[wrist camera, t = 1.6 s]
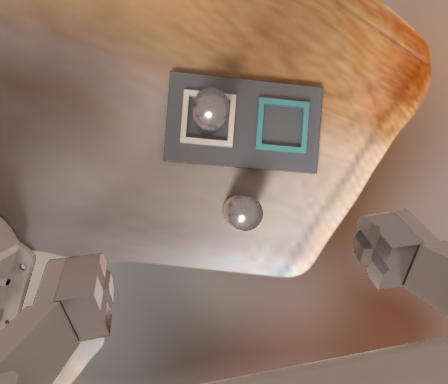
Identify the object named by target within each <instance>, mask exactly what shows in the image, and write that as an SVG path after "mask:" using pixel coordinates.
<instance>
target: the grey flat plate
mask: <svg viewBox="0 0 448 384" xmlns="http://www.w3.org/2000/svg"><path fill="white" fill-rule="evenodd" d="M206 88H216V89H219V90H221V91H222V92H223V93H224V94H225V95H226V96H227V98H228V100H229V104H230V109H229V113H228V115H227V117H226V119H225V121H224V123H223V125H222V127H221V129H220V130H219V131H218V132H217V133H215V134H212V135H205V134H202V133H200V132H199V131H197V130H196V128H195V127H194V124H193V103H194V99H195V97H196V95H197V94H198V93H199V92H200V91H201V90H203V89H206ZM322 93H323V88H321V87H311V86H302V85H293V84H284V83H275V82H266V81H256V80H247V79H238V78H229V77H220V76H210V75H201V74H192V73H183V72H174V71H170V80H169V93H168V106H167V119H166V133H165V146H164V159H163V161H167V162H179V163H191V164H203V165H215V166H227V167H239V168H251V169H263V170H275V171H287V172H299V173H311V174H314V173H317V162H318V149H319V135H320V121H321V107H322Z"/></svg>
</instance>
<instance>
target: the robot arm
mask: <svg viewBox="0 0 448 384" xmlns="http://www.w3.org/2000/svg"><path fill="white" fill-rule="evenodd" d="M357 226H358V228H359V229H360V230H359V232H358V233H357V234H356V235H355V236H354V241H353V248H354V253H355V255H356V257H357V259H358V261H359V262H360V263H361V264H363V265H364V266H366V267H368V271H367V274H368V276H369V277H370V278H371V280H372V281H373V283H374V284H375V286H376V287H377V289H378V290H379V289H384V288H385V289H386V288H393V287H400V286H403V288H405V289H406V290H408V291H409V292H411V293H412V294H414V295H415V296H416V297H418V298H420V299H421V300H422V301H424V302H425V303H427V304H428V305H430V306H431V307H433V308H434V309H436V310H437V311H439V312H440V313H442V314H443V315H444V316H446V317H447V318H448V242H446V241H439V240H438V239H437V238H436V237H435V236H434V235H433V234H432V233H431V232H430V231H429V230H428V229H427V228H426V227H425V226H424V225H423V224H422V223H421V222H420V221H419V220H418V219H417V218H416V217H415V216H414V215H413V214H412V213H411V212H410V211H408V210H406V209H403V210H396V211H390V212H384V213H378V214H371V215H364V216H361V217H360V218H359V220H358V224H357ZM35 261H36V257H35V254H34V252H33V251H32V250H31V249H29V248H28V247H27V246H25V245H24V244H23V243H21V242H20V241H19V240H18V239H17V237H16V235H15V234H14V232H13V230H12V229H11V227H10V226H9V225H8V223H7V222H6V221H5V220H4V219H3V218H1V217H0V384H52V382H53V381H54V380H55V378H56V377H57V375H58V374H59V372H60V371H61V370H62V368H63V367H64V365H65V364H66V362H67V361H68V359H69V358H70V357H71V355H72V354H73V352H74V351H75V349H76V348H77V347H78V345H79V344H80V343H79V342H81V341H86V340H91V339H96V338H101V337H106V336H110V328H111V320H112V314H111V311H110V309H109V307H110V306H111V305H112V304H113V301H114V284H113V278H112V275H111V272H109V271H107V270H106V268H107V260H106V257H105V254H103V253H99V254H90V255H82V256H74V257H68V258H60V259H52V260H50V261H49V262H48V263H47V264H46V267H45V270H44V273H43V276H42V279H41V282H40V285H39V288H38V291H37V294H36V297H35V300H34V303H33V305H32V306H28V307H26V308H25V309H24V310H23V311H22V312H21V310H22V306H23V303H24V299H25V295H26V292H27V289H28V285H29V282H30V278H31V275H32V271H33V268H34V264H35ZM22 264H23V265H25V269H22V268H21V265H22ZM8 320H9V321H8ZM203 384H448V336H444V337H439V338H434V339H429V340H424V341H419V342H413V343H408V344H403V345H398V346H393V347H388V348H383V349H378V350H372V351H368V352H362V353H357V354H352V355H347V356H342V357H337V358H331V359H326V360H322V361H316V362H311V363H306V364H301V365H295V366H290V367H285V368H280V369H275V370H270V371H265V372H259V373H254V374H250V375H244V376H239V377H234V378H229V379H223V380H218V381H214V382H209V383H203Z"/></svg>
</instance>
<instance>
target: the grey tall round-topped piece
mask: <svg viewBox="0 0 448 384" xmlns="http://www.w3.org/2000/svg"><path fill="white" fill-rule="evenodd" d="M229 109H230V104H229V100H228V98H227V96H226V95H225V94H224V93H223V92H222V91H221V90H219V89H216V88H206V89H203V90H201V91H200V92H199V93H198V94H197V95H196V97H195V99H194V103H193V124H194V127H195V128H196V130H197V131H199V132H200V133H202V134H205V135H212V134H215V133H217V132H218V131H219V130H220V129H221V127H222V125H223V123H224V121H225V119H226V117H227V115H228V113H229Z"/></svg>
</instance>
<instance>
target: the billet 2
mask: <svg viewBox="0 0 448 384" xmlns="http://www.w3.org/2000/svg"><path fill="white" fill-rule="evenodd" d="M222 212H223V216H224V218H225V219H226V220H227V221H228V222H229V223H230V224H232V225H233V226H234V227H236V228H237V229H239V230H243V231H248V230H252V229H254V228H255V227H257V226H258V225H259V223H260V222H261V220H262V216H263V211H262V207H261V205H260V203H259V202H258V201H257V200H256V199H255V198H253V197H250V196H240V195H235V196H232V197H230V198H228V199H227V200H226V201H225V203H224V205H223V209H222Z"/></svg>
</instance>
